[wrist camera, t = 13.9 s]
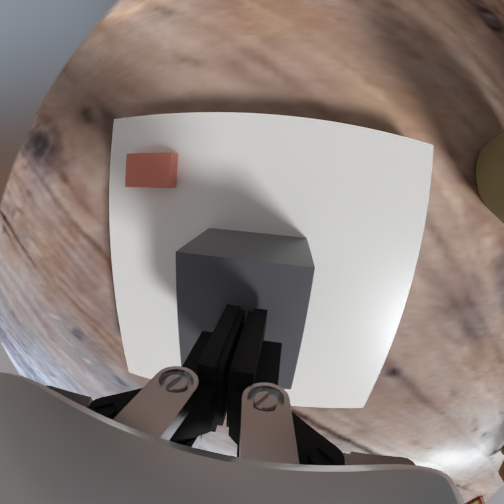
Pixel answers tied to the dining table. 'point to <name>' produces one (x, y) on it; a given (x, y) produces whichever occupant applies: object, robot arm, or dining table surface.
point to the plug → (245, 287)
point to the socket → (271, 230)
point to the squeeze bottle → (492, 175)
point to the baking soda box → (478, 500)
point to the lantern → (502, 468)
